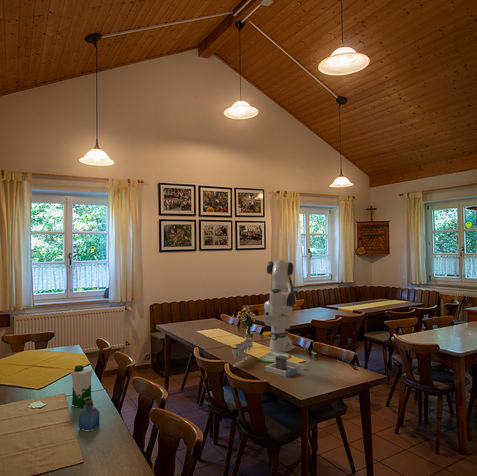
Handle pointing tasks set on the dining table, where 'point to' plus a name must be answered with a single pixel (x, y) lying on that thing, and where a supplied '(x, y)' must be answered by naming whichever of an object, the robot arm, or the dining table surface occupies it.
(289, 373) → the white tray
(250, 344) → the goblet set
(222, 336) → the dining table surface
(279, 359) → the cord plug
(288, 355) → the dish towel
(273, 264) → the robot arm
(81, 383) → the milk carton
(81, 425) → the perfume bottle
